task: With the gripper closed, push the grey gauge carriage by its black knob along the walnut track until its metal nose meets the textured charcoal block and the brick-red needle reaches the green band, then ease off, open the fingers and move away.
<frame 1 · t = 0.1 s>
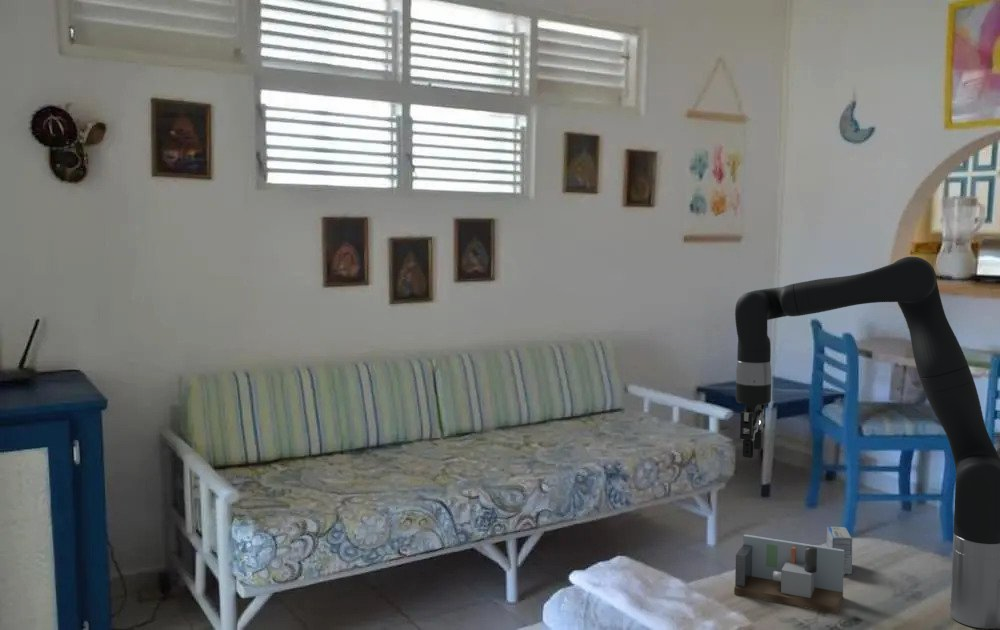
hand: (752, 452, 192), 29 cm above the table, tool pointing down, fingers open, 8 cm apart
medicine box: (838, 568, 201), on the table
textured charcoal block: (743, 587, 190), resting on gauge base
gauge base: (788, 595, 186), on the table
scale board: (791, 589, 189), resting on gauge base
gauge carriage: (795, 567, 185), point 7 cm above the table, slide at 0.0 cm
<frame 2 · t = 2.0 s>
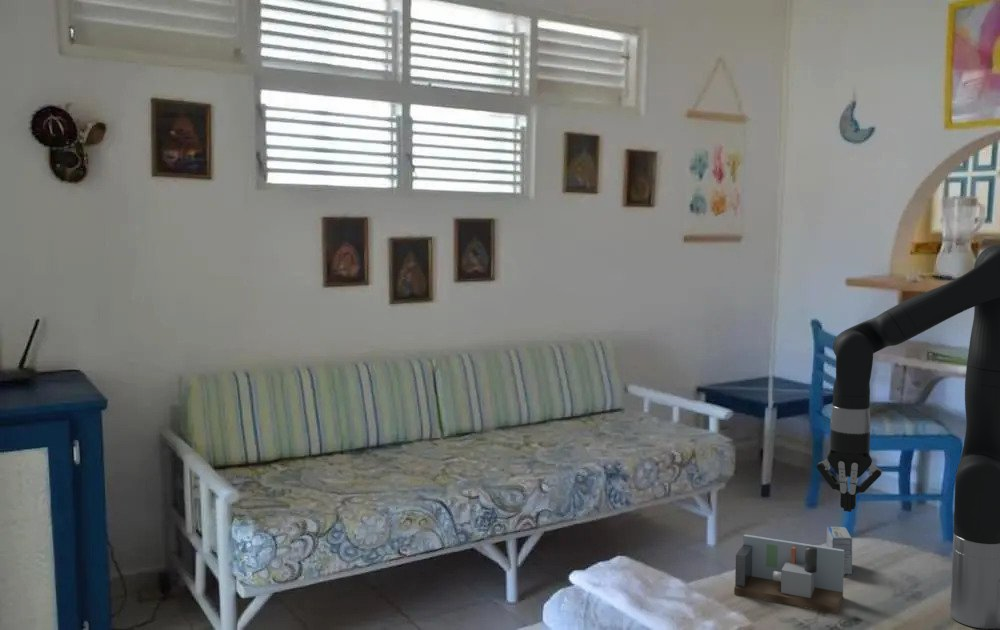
hand: (847, 510, 178), 21 cm above the table, tool pointing down, fingers closed
nothing on the table moved.
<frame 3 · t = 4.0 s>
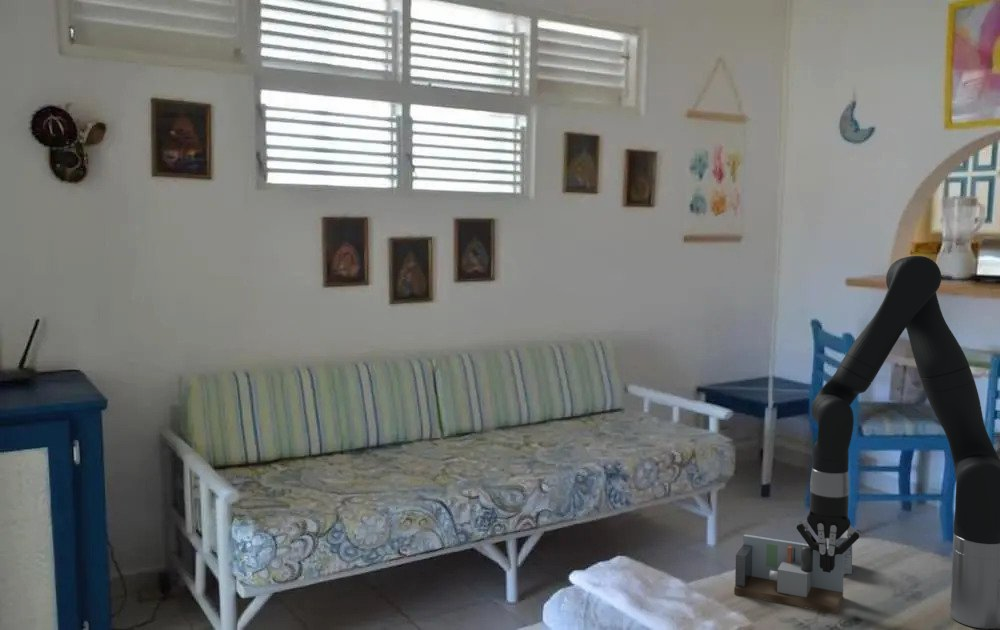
hand: (826, 570, 181), 7 cm above the table, tool pointing down, fingers closed
gauge carriage: (791, 566, 185), point 7 cm above the table, slide at 0.8 cm, touching gripper
everything else where it was.
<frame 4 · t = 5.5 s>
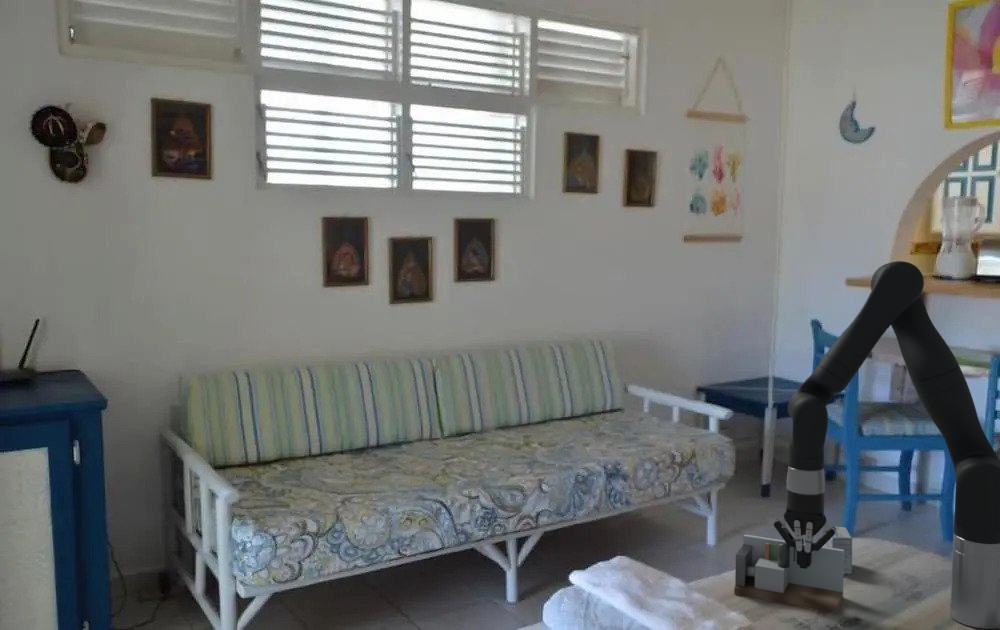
hand: (803, 567, 183), 7 cm above the table, tool pointing down, fingers closed
gauge carriage: (769, 563, 187), point 7 cm above the table, slide at 5.5 cm, touching textured charcoal block, gripper
everything else where it was.
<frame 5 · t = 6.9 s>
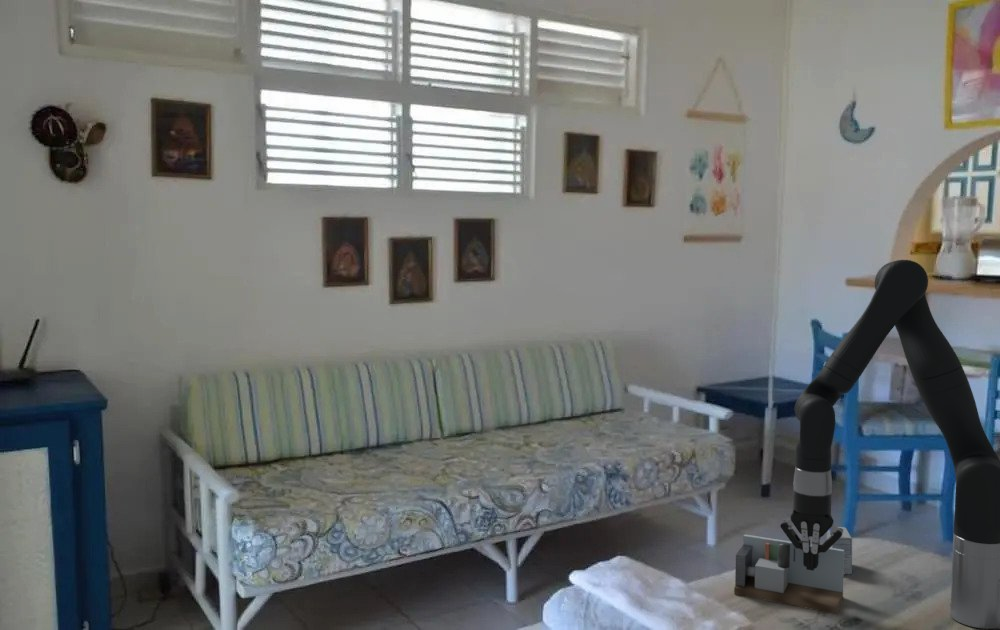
hand: (810, 568, 183), 7 cm above the table, tool pointing down, fingers closed
gauge carriage: (769, 563, 187), point 7 cm above the table, slide at 5.5 cm, touching textured charcoal block
everything else where it was.
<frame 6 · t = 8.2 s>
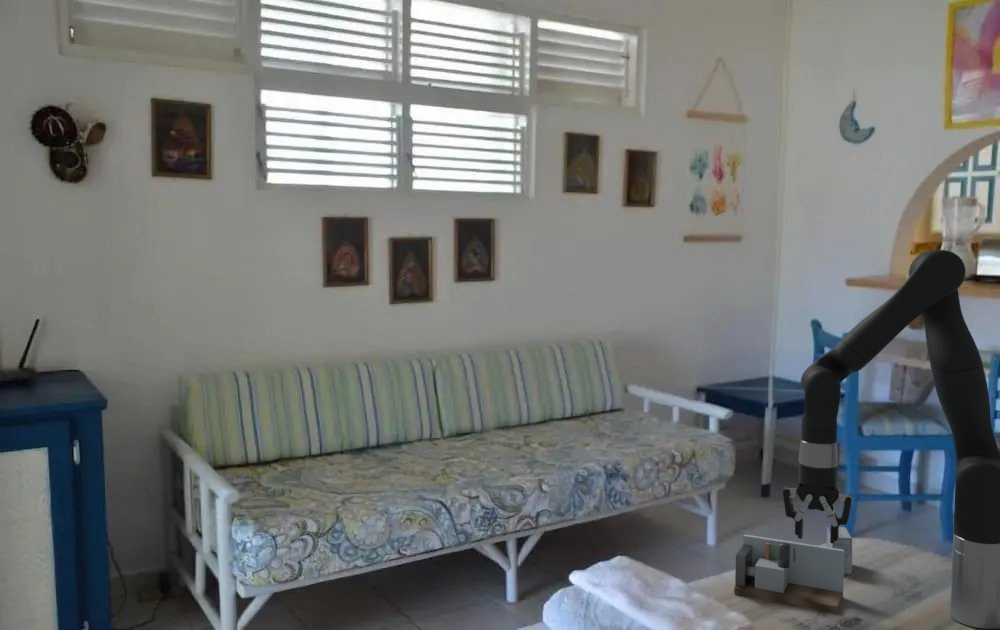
hand: (816, 539, 182), 14 cm above the table, tool pointing down, fingers open, 6 cm apart
nothing on the table moved.
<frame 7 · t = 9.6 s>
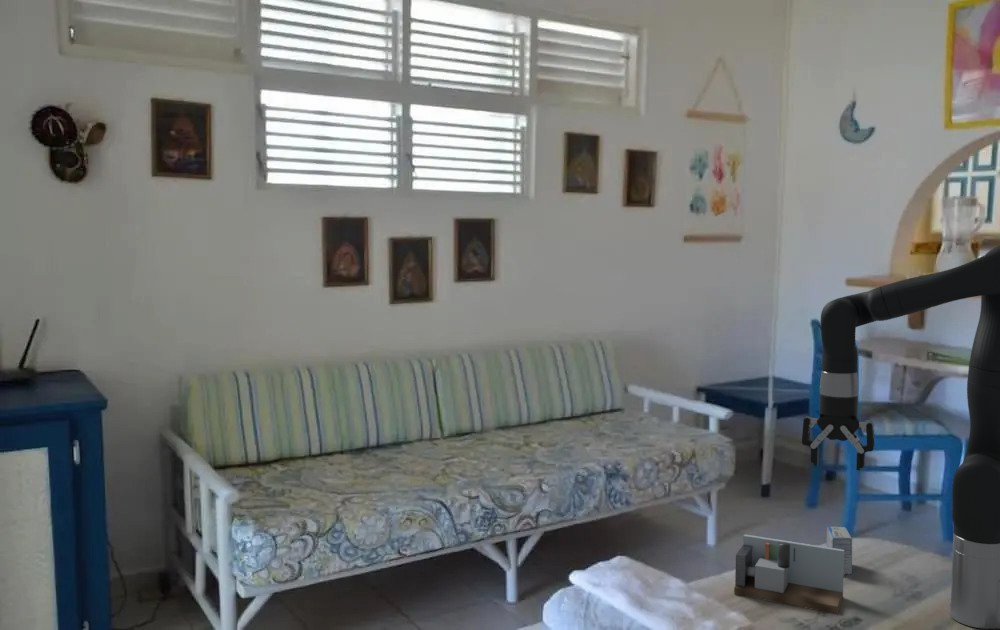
hand: (837, 467, 184), 28 cm above the table, tool pointing down, fingers open, 8 cm apart
nothing on the table moved.
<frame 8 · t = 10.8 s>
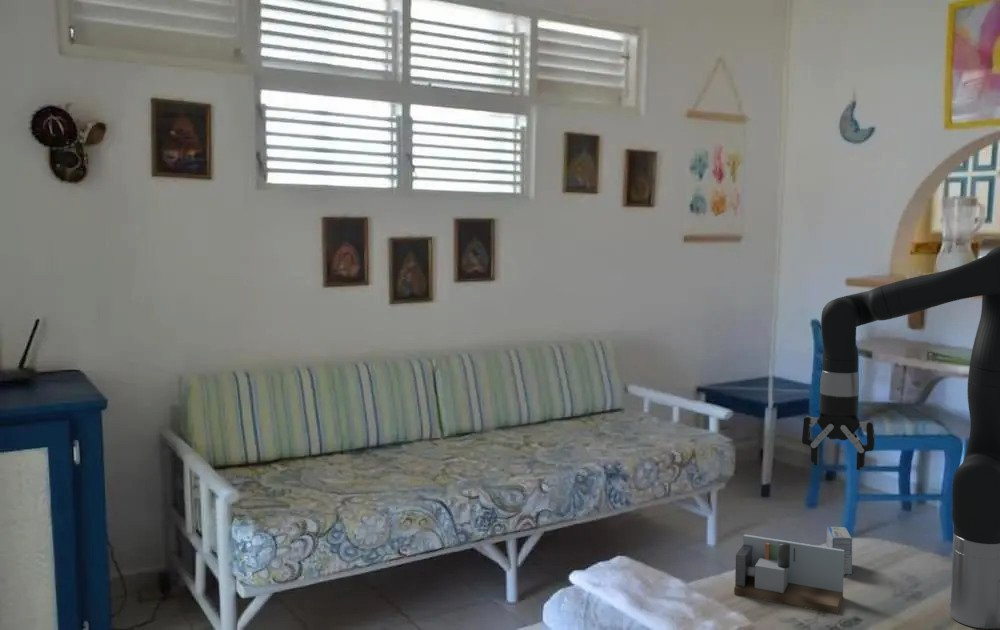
hand: (837, 466, 184), 28 cm above the table, tool pointing down, fingers open, 8 cm apart
nothing on the table moved.
at the end: gauge carriage slide at 5.5 cm; medicine box moved 0.3 cm from its start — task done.
